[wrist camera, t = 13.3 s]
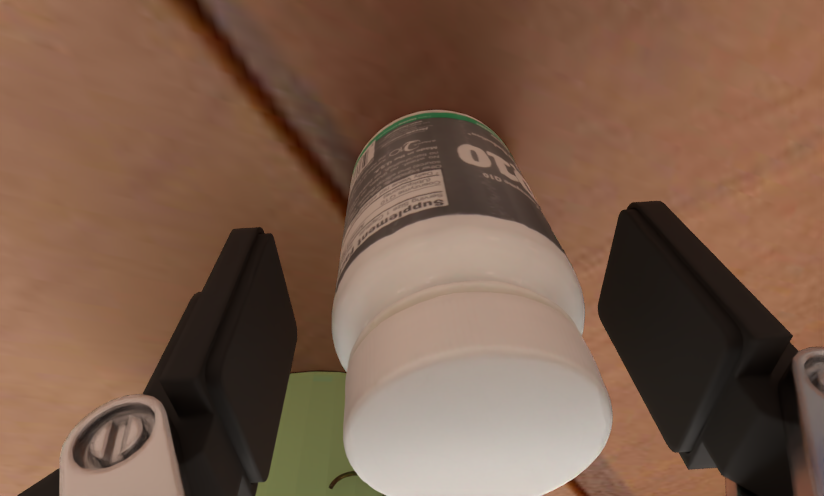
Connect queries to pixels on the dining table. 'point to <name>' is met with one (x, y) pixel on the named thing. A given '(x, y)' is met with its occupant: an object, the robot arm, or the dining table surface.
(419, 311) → the pill bottle
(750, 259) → the dining table surface
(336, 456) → the mug
